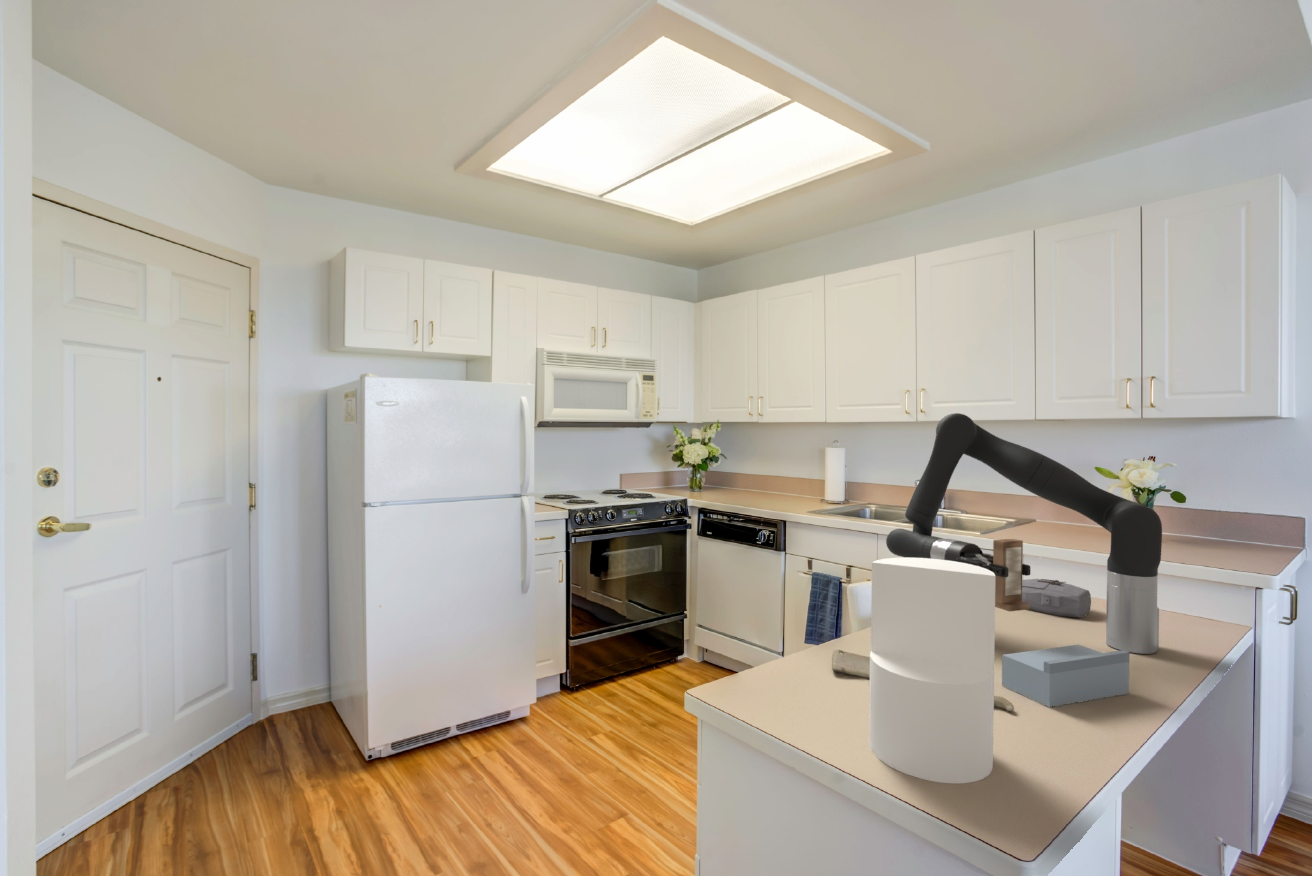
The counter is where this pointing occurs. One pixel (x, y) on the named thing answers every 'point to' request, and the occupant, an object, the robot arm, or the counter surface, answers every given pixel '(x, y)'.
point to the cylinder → (932, 668)
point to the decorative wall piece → (861, 667)
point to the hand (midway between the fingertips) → (1018, 571)
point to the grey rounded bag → (1056, 597)
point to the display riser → (1066, 674)
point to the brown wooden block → (1009, 575)
